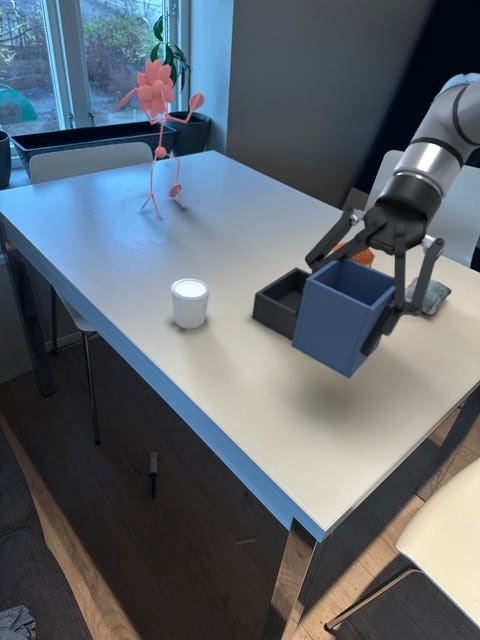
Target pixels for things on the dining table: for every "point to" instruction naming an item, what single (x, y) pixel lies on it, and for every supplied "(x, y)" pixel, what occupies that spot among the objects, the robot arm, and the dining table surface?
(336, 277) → the blue bin
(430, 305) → the packaged food
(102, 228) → the dining table surface
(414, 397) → the dining table surface
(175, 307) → the white cup
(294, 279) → the charcoal bin
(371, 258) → the hamburger
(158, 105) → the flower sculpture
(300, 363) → the dining table surface
